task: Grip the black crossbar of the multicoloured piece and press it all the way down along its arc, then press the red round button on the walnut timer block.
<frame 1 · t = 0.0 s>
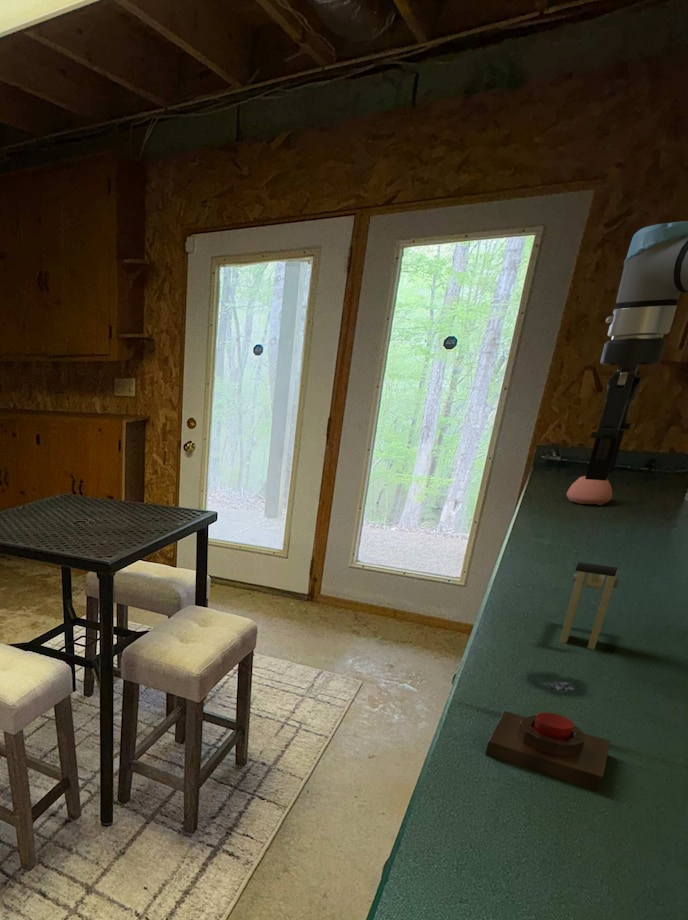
hand: (600, 473, 106), 30 cm above the kitchen counter, tool pointing down, fingers open, 13 cm apart
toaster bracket: (576, 648, 112), on the kitchen counter
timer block: (545, 755, 83), on the kitchen counter
blueberries: (558, 692, 98), on the kitchen counter
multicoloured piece: (595, 575, 103), point 15 cm above the kitchen counter, hinge at 25.0°
start button: (553, 726, 81), point 4 cm above the kitchen counter, slide at 0.1 cm
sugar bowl: (585, 503, 214), on the kitchen counter
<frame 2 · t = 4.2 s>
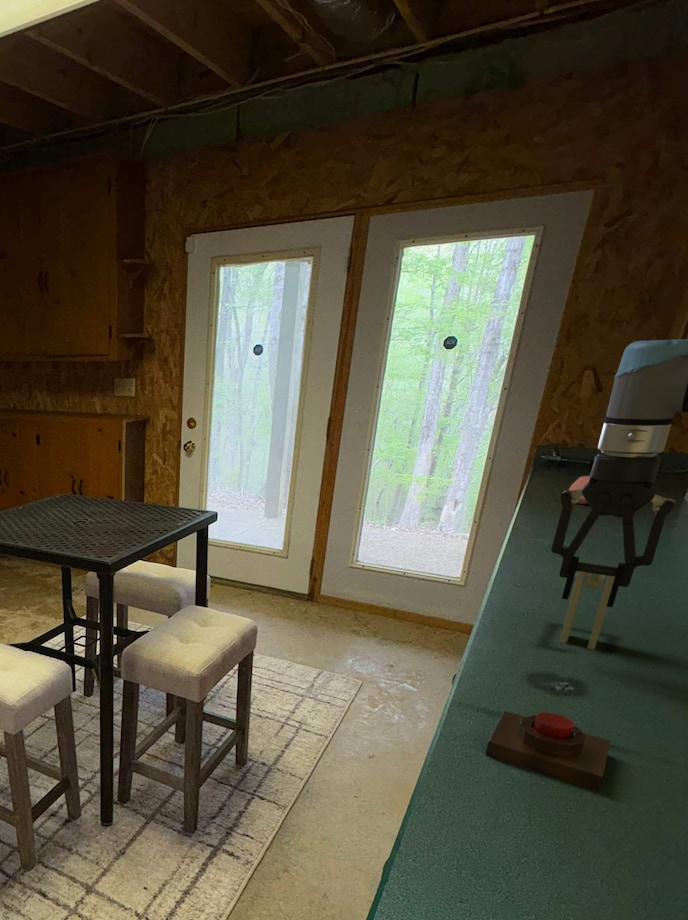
hand: (587, 600, 100), 12 cm above the kitchen counter, tool pointing down, fingers closed on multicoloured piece, 5 cm apart
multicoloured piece: (595, 575, 103), point 15 cm above the kitchen counter, hinge at 25.0°, touching gripper
everything else where it was.
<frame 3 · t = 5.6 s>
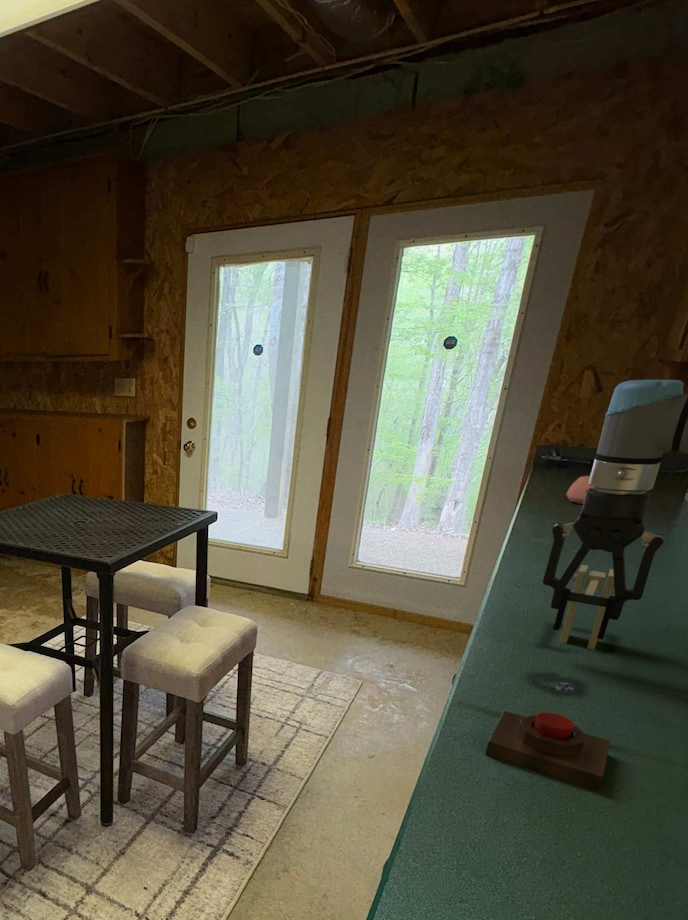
hand: (578, 631, 102), 7 cm above the kitchen counter, tool pointing down, fingers closed on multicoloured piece, 5 cm apart
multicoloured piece: (591, 588, 103), point 13 cm above the kitchen counter, hinge at -0.8°, touching gripper
everything else where it was.
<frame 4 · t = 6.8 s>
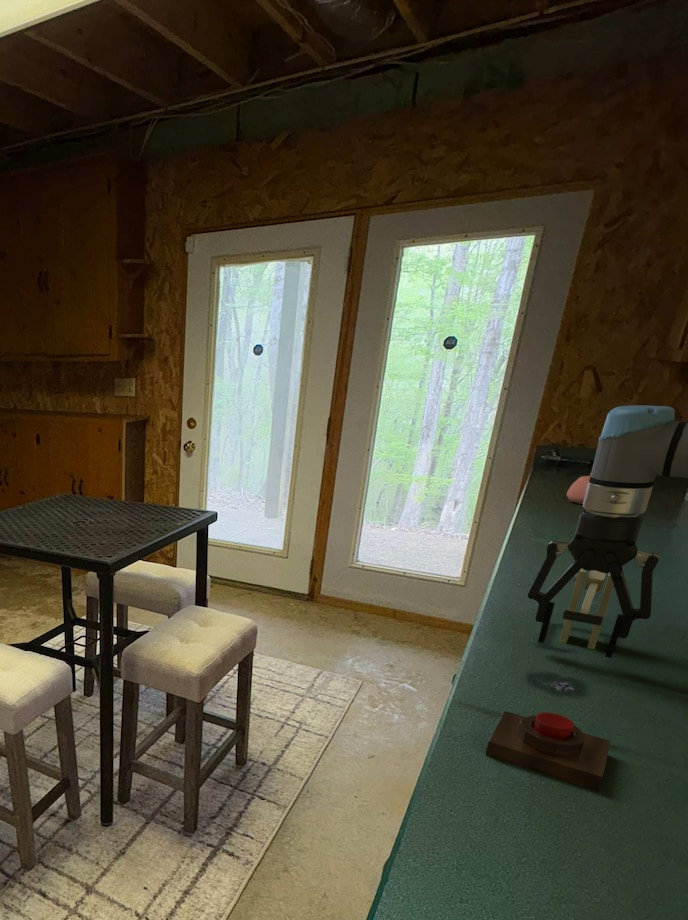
hand: (574, 646, 103), 4 cm above the kitchen counter, tool pointing down, fingers open, 8 cm apart
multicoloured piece: (589, 597, 104), point 11 cm above the kitchen counter, hinge at -18.6°
everything else where it was.
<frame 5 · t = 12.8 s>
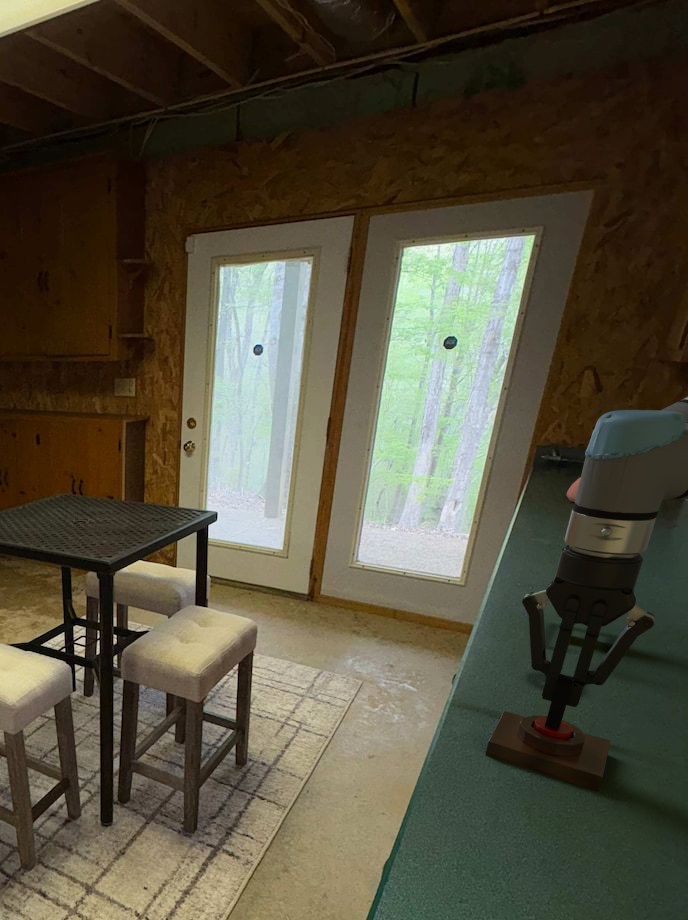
hand: (553, 723, 81), 5 cm above the kitchen counter, tool pointing down, fingers closed
start button: (552, 730, 82), point 4 cm above the kitchen counter, slide at -0.6 cm, touching gripper
everything else where it was.
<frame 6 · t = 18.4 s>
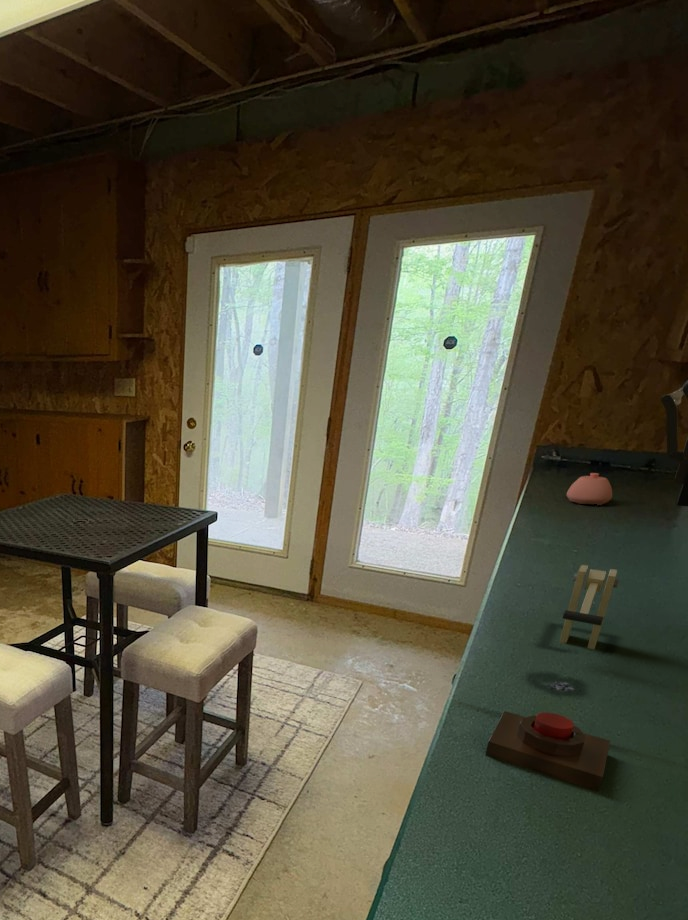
hand: (683, 504, 100), 26 cm above the kitchen counter, tool pointing down, fingers closed
start button: (553, 726, 81), point 4 cm above the kitchen counter, slide at 0.1 cm
everything else where it was.
at the end: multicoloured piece at -19° (first picture: +25°); start button pushed in 1.0 cm at the most during the clip, back to where it started at the end; start button slide at 0.1 cm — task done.
